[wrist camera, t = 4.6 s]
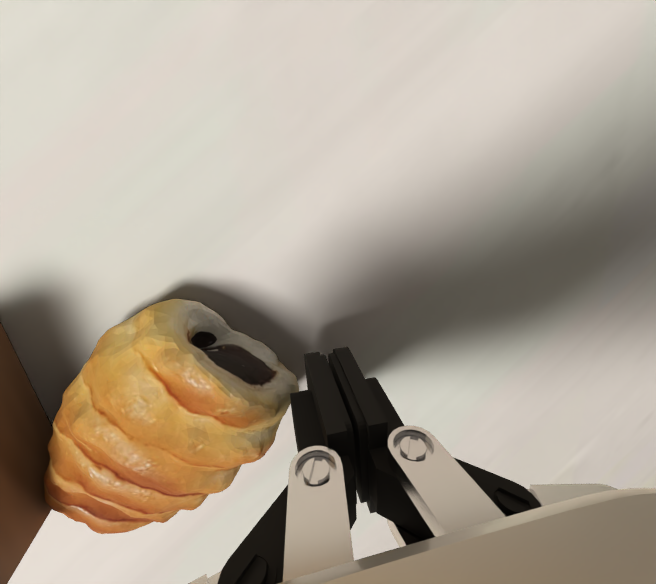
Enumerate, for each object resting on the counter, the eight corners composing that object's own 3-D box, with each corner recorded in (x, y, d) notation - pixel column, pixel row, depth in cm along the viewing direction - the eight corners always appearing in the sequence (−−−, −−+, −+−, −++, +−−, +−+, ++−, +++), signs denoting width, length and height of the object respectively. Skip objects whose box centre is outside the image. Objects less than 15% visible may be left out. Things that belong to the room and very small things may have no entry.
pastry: (174, 508, 15) (149, 613, 11) (14, 450, 12) (-83, 562, 9) (308, 363, 14) (326, 430, 10) (161, 265, 11) (116, 309, 8)
